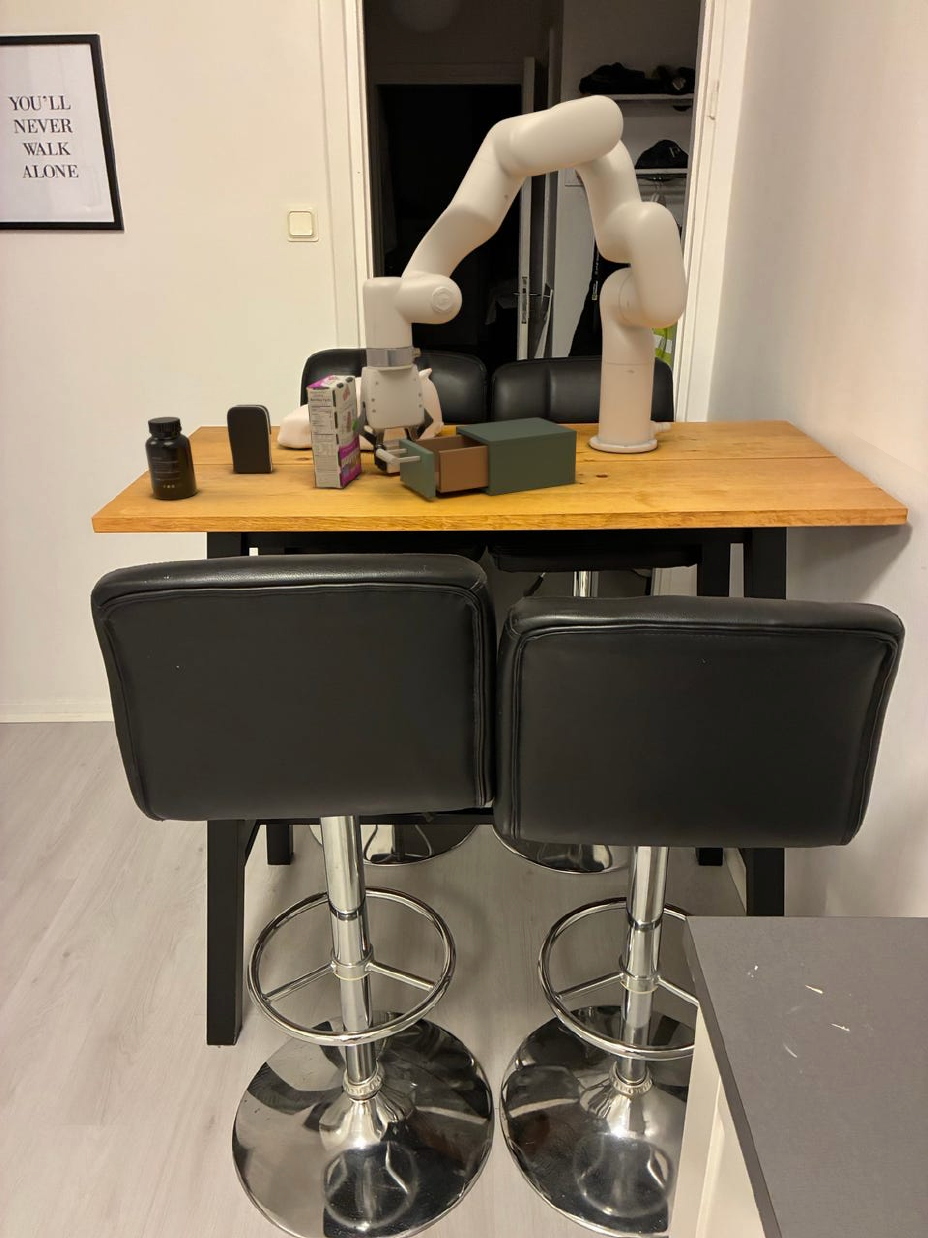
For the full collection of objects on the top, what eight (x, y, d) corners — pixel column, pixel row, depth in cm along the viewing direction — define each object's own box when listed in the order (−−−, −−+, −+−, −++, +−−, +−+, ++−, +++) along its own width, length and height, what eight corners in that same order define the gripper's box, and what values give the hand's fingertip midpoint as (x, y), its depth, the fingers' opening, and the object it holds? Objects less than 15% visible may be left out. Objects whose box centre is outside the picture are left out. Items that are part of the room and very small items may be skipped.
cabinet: (490, 495, 142) (490, 441, 138) (456, 477, 152) (455, 426, 149) (575, 483, 148) (577, 430, 144) (536, 466, 158) (537, 417, 155)
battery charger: (277, 468, 159) (270, 402, 155) (271, 473, 156) (265, 406, 151) (237, 468, 160) (230, 402, 155) (231, 473, 156) (224, 406, 151)
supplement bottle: (158, 489, 147) (147, 415, 142) (200, 488, 148) (191, 414, 143) (148, 501, 141) (136, 424, 136) (193, 499, 141) (182, 423, 137)
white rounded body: (427, 455, 167) (425, 381, 161) (273, 450, 172) (266, 378, 166) (448, 433, 184) (447, 365, 178) (308, 429, 189) (302, 363, 184)
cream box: (403, 463, 158) (402, 438, 156) (413, 469, 154) (412, 443, 152) (379, 467, 156) (377, 441, 154) (388, 473, 152) (387, 446, 150)
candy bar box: (335, 471, 157) (328, 374, 150) (362, 472, 156) (357, 375, 149) (313, 488, 147) (304, 385, 140) (342, 489, 146) (335, 386, 139)
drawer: (398, 502, 136) (396, 457, 133) (372, 484, 145) (369, 442, 142) (511, 485, 143) (512, 443, 141) (479, 469, 153) (479, 429, 150)
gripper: (428, 350, 154) (432, 456, 161) (333, 359, 147) (342, 469, 155) (446, 356, 148) (449, 465, 155) (348, 365, 141) (356, 479, 149)
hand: (396, 466), depth 155 cm, fingers closed on cream box, 4 cm apart
